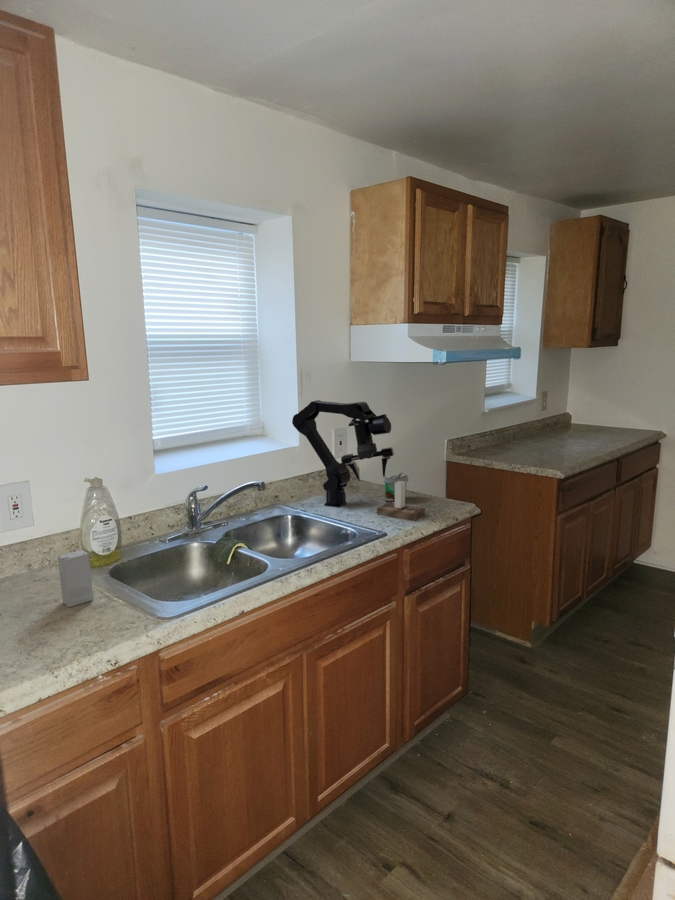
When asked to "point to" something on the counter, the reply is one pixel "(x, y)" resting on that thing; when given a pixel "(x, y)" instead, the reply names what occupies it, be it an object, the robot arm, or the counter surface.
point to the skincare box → (75, 578)
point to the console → (401, 512)
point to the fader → (399, 494)
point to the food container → (393, 485)
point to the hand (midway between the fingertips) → (371, 478)
